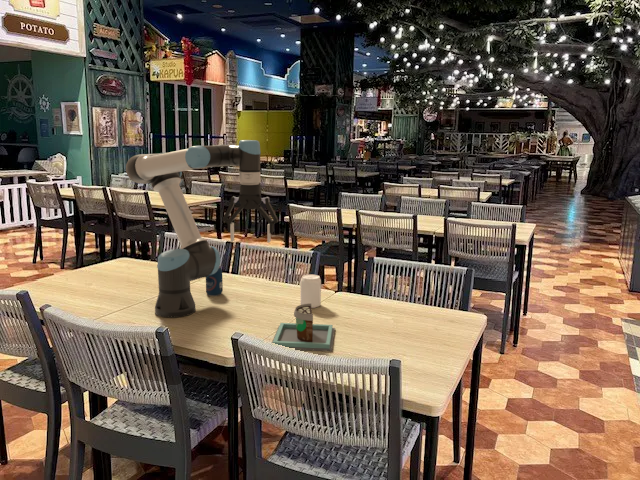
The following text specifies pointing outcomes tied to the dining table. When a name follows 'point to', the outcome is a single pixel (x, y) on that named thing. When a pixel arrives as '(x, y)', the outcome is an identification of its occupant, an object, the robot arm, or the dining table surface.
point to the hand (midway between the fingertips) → (250, 241)
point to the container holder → (320, 341)
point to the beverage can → (311, 290)
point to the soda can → (214, 283)
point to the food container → (304, 322)
